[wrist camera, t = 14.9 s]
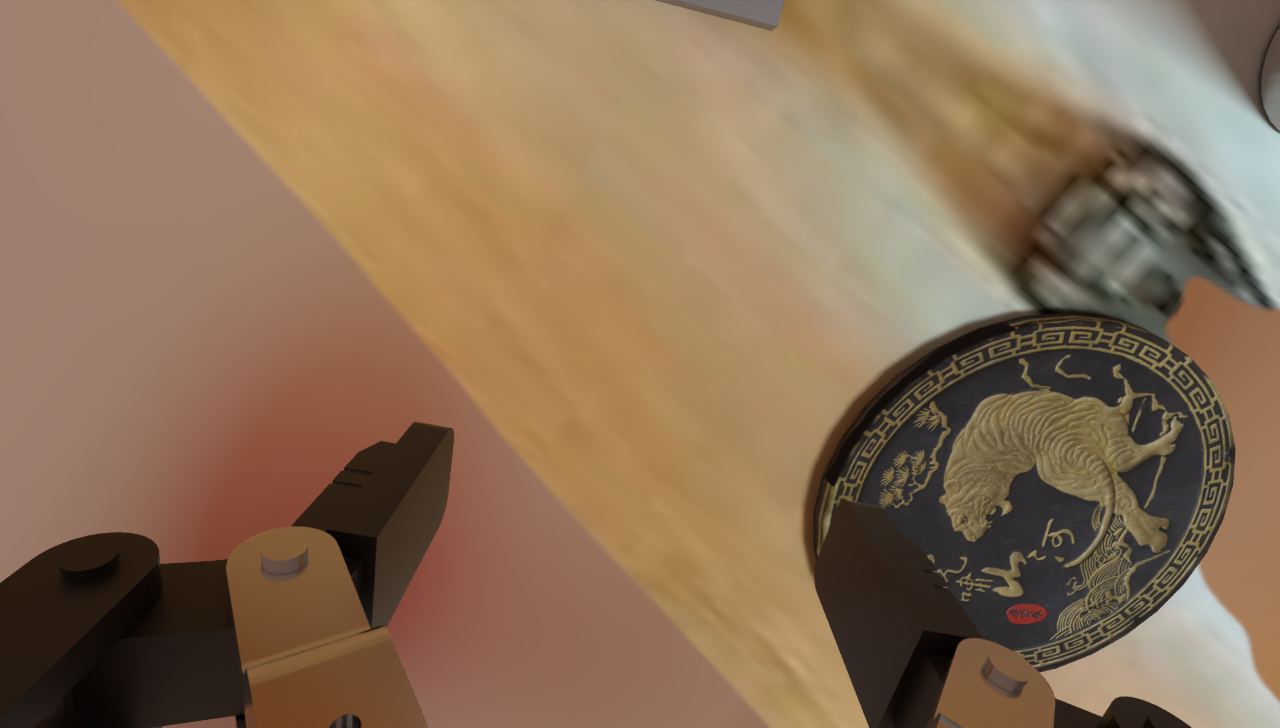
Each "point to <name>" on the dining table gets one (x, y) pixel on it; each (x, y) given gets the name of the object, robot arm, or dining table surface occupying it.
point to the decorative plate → (1046, 476)
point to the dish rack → (738, 10)
